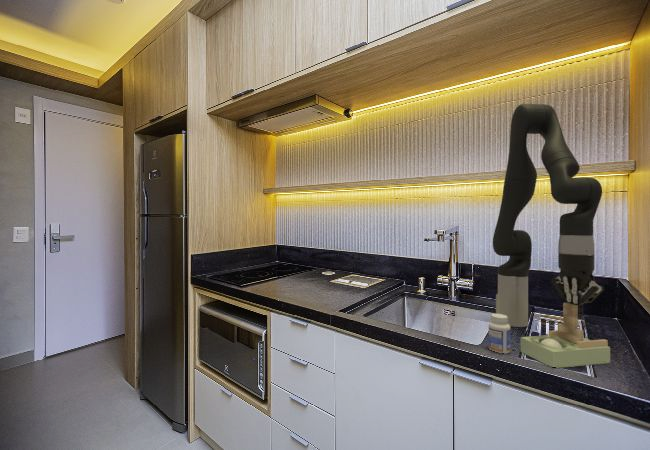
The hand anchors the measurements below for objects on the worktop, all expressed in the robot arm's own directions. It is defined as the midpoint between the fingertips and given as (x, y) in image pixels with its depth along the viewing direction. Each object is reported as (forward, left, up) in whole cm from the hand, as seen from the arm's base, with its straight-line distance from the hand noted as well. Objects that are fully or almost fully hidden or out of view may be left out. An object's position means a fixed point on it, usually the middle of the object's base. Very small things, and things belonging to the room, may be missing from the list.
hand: (575, 316), depth 83 cm
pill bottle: (-7, -17, -11) cm, 22 cm away
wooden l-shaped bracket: (0, -2, -6) cm, 6 cm away
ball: (0, -8, -8) cm, 11 cm away
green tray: (0, -4, -10) cm, 11 cm away
